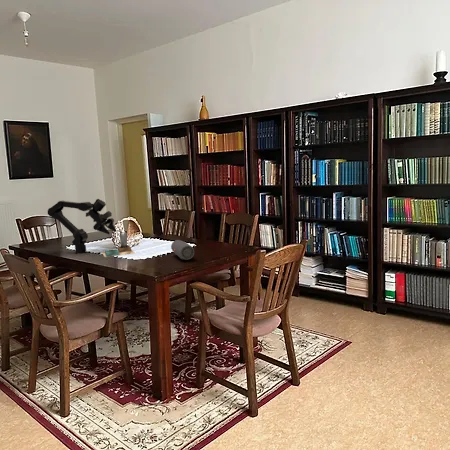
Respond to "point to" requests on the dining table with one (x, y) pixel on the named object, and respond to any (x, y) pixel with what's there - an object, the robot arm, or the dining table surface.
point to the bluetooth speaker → (182, 249)
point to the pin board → (118, 252)
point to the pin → (123, 240)
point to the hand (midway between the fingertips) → (112, 232)
